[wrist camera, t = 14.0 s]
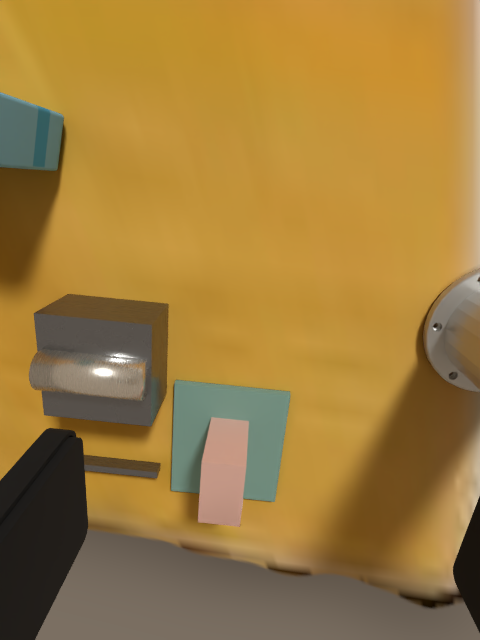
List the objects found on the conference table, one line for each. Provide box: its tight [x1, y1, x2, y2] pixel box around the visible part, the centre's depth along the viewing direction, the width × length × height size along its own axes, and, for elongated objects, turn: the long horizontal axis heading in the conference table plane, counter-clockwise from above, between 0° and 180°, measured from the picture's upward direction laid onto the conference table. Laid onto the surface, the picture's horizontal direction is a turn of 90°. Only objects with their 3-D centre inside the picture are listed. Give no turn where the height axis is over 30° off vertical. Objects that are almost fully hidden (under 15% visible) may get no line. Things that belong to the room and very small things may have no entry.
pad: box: [171, 380, 290, 502], centre depth 42 cm, size 12×14×1 cm
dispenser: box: [29, 294, 168, 478], centre depth 37 cm, size 10×20×8 cm, turn 175°
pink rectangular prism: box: [198, 417, 249, 527], centre depth 38 cm, size 4×7×7 cm, turn 175°
